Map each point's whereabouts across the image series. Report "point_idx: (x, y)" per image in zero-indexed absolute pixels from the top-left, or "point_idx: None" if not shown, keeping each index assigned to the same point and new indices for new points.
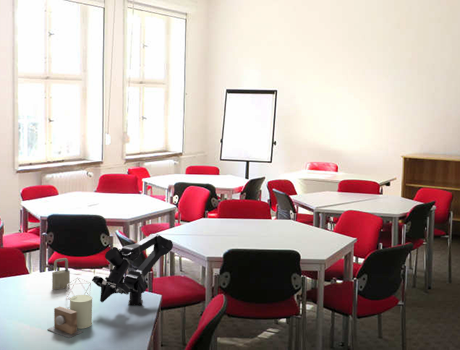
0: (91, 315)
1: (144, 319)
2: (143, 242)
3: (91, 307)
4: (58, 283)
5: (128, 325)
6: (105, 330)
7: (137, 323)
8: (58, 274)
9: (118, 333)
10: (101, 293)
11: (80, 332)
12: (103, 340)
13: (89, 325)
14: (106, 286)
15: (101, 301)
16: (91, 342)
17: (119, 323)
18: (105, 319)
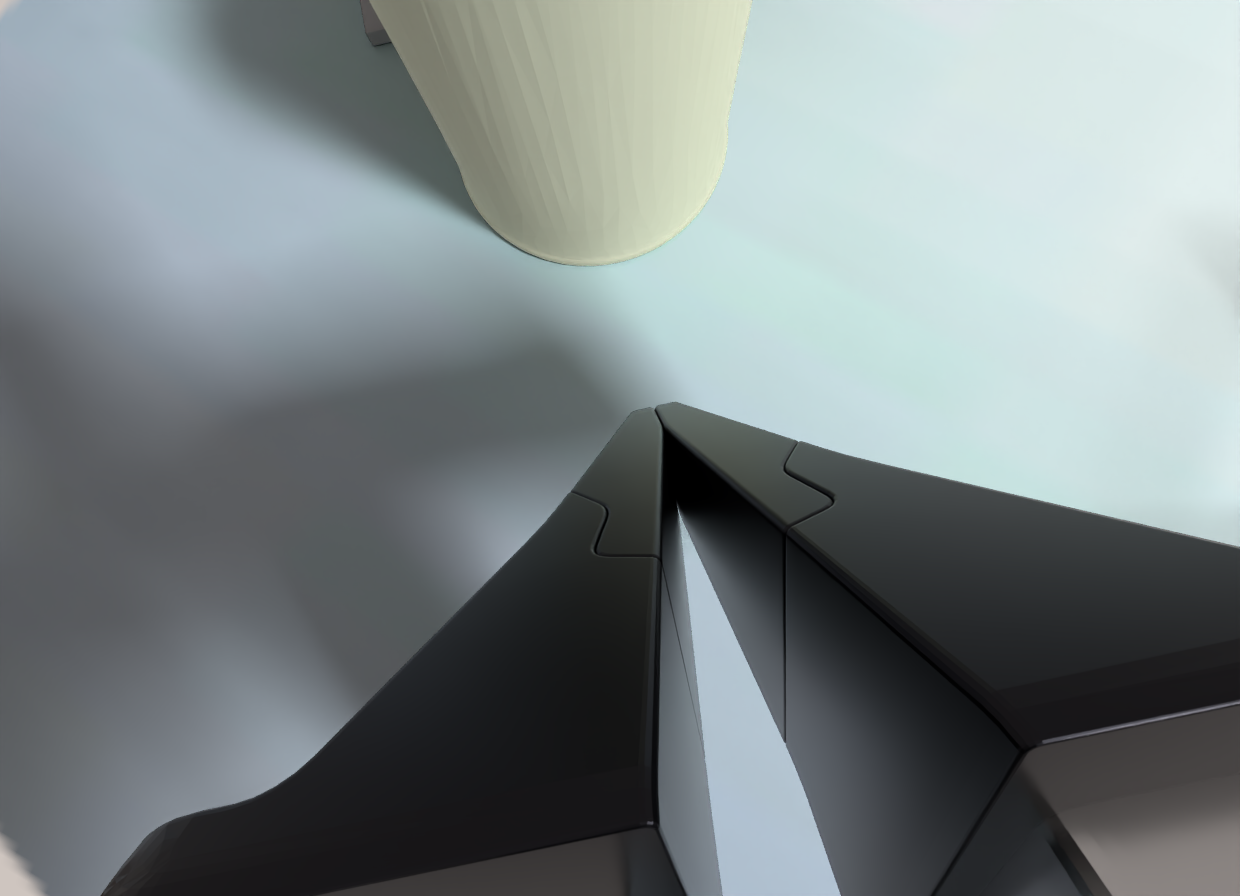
0: (456, 144)
1: None
2: None
3: (382, 8)
4: None
5: (174, 577)
6: (247, 271)
7: (142, 715)
8: None
9: (74, 339)
10: (754, 445)
11: (364, 11)
12: (49, 117)
13: (461, 174)
14: (641, 698)
15: (632, 416)
16: (98, 4)
17: (306, 526)
18: (541, 461)
